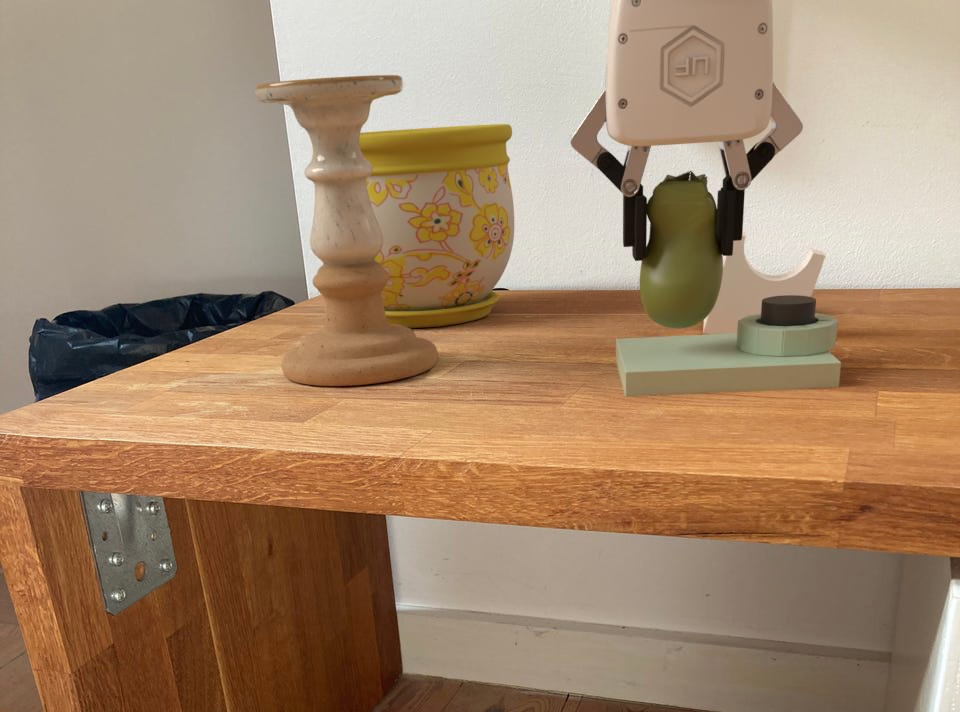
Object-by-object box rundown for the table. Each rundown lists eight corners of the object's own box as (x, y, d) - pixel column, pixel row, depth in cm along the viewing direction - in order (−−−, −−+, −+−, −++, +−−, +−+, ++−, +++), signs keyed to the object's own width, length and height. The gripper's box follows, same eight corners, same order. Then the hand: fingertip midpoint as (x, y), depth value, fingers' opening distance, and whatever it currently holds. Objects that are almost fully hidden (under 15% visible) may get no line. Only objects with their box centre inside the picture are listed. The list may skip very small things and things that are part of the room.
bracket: (790, 354, 81) (825, 255, 77) (703, 332, 82) (733, 233, 78) (781, 322, 92) (811, 235, 89) (704, 303, 93) (730, 215, 89)
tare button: (807, 319, 73) (809, 294, 72) (819, 329, 70) (821, 302, 69) (755, 322, 73) (757, 296, 72) (765, 332, 70) (767, 305, 69)
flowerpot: (469, 338, 90) (456, 129, 82) (299, 331, 97) (273, 139, 90) (547, 302, 104) (542, 121, 97) (394, 298, 111) (378, 130, 104)
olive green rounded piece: (724, 322, 73) (736, 168, 68) (708, 337, 69) (720, 174, 64) (648, 318, 75) (654, 168, 70) (627, 333, 71) (633, 174, 66)
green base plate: (812, 352, 77) (816, 304, 76) (850, 387, 68) (856, 333, 66) (615, 361, 79) (615, 314, 77) (625, 397, 69) (625, 344, 67)
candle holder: (468, 357, 83) (450, 72, 73) (371, 393, 74) (336, 74, 65) (352, 347, 89) (322, 84, 80) (250, 379, 80) (202, 87, 71)
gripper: (547, -64, 59) (555, 270, 67) (852, -89, 57) (822, 256, 66) (547, -47, 65) (555, 255, 74) (821, -69, 64) (797, 242, 72)
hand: (681, 252), depth 70 cm, fingers closed on olive green rounded piece, 5 cm apart
